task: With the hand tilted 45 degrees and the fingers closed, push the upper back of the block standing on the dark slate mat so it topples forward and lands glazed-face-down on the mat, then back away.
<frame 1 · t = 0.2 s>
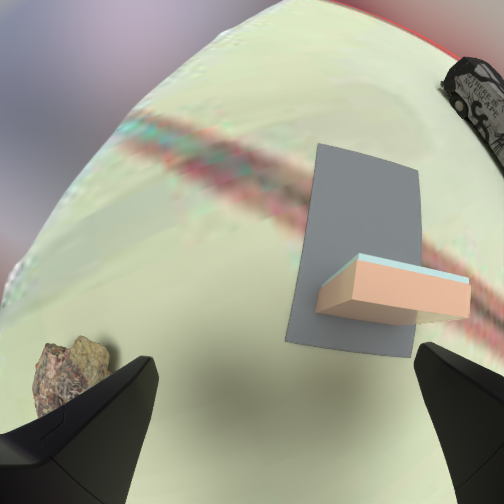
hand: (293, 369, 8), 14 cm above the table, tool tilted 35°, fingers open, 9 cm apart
block: (361, 306, 22), resting on mat
mat: (367, 242, 24), on the table
toy car: (492, 143, 28), on the table
rock: (87, 389, 21), on the table
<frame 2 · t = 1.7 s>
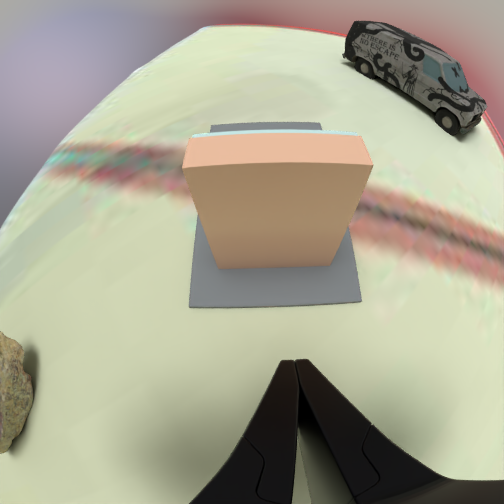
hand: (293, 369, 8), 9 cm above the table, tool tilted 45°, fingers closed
block: (274, 252, 20), resting on mat
mat: (270, 191, 23), on the table
toy car: (410, 93, 33), on the table
rock: (17, 403, 14), on the table
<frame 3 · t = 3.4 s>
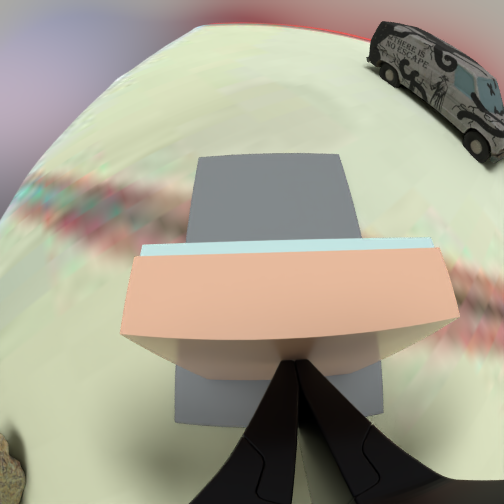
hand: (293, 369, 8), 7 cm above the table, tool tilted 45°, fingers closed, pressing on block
block: (279, 358, 14), resting on mat, touching gripper
mat: (276, 264, 17), on the table
toy car: (438, 108, 28), on the table
rock: (11, 476, 9), on the table
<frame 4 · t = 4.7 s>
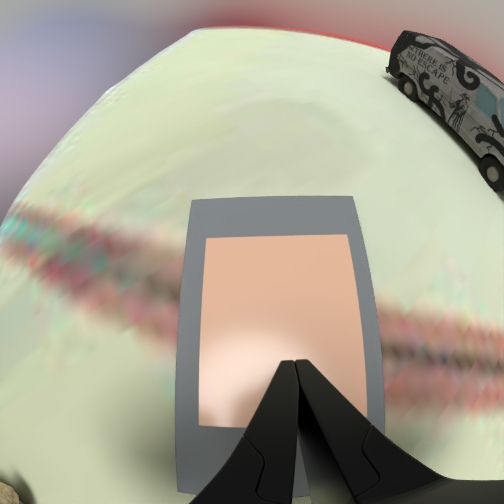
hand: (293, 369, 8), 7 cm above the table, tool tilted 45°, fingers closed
block: (283, 423, 12), point 1 cm above the table, tilted 90°, touching mat
mat: (280, 339, 15), on the table
toy car: (457, 128, 25), on the table
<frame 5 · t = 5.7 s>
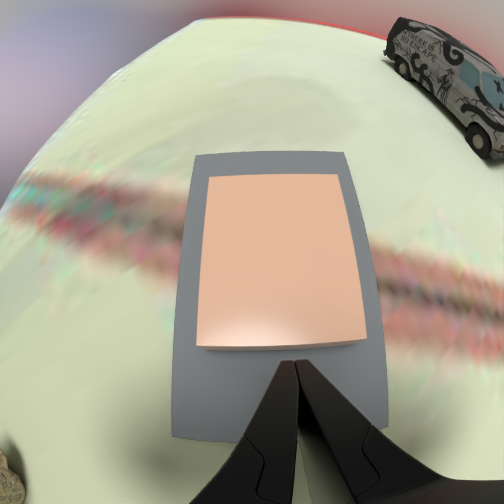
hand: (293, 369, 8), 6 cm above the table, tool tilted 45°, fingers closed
block: (282, 348, 13), point 1 cm above the table, tilted 90°, touching mat
mat: (278, 270, 16), on the table
toy car: (449, 106, 26), on the table
rock: (11, 486, 8), on the table
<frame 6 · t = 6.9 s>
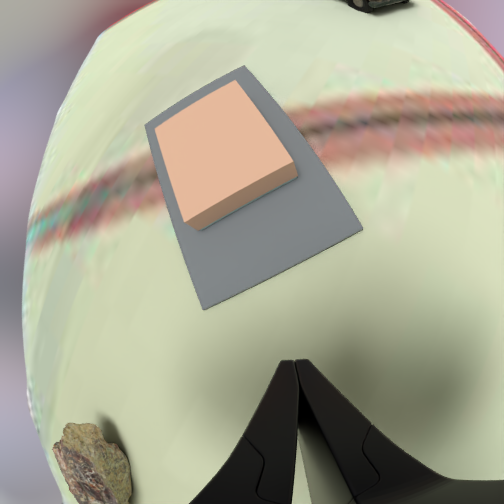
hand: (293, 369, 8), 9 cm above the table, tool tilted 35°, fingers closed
block: (243, 198, 18), point 1 cm above the table, tilted 90°, touching mat
mat: (226, 159, 21), on the table
rock: (117, 468, 18), on the table
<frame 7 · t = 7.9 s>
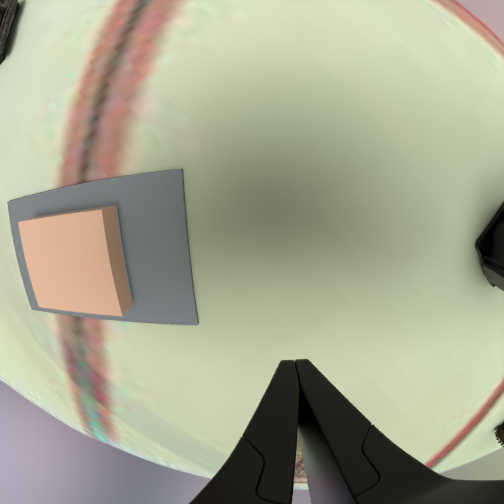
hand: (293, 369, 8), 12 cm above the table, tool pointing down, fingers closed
block: (118, 260, 18), point 1 cm above the table, tilted 90°, touching mat
mat: (81, 255, 20), on the table
rock: (320, 435, 26), on the table
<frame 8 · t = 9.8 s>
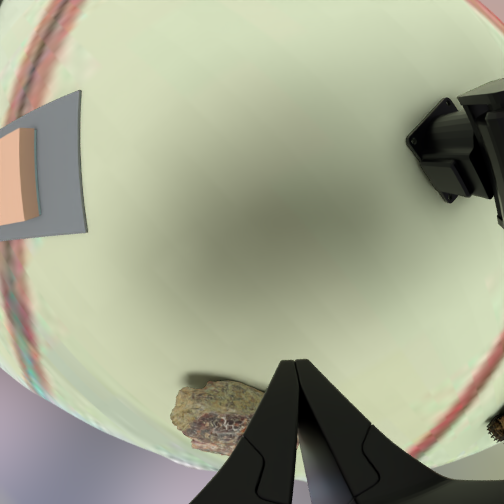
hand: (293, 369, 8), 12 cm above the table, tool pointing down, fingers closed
block: (29, 172, 16), point 1 cm above the table, tilted 90°, touching mat
mat: (12, 180, 18), on the table
rock: (247, 398, 24), on the table
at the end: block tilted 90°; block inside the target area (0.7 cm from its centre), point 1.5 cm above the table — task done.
